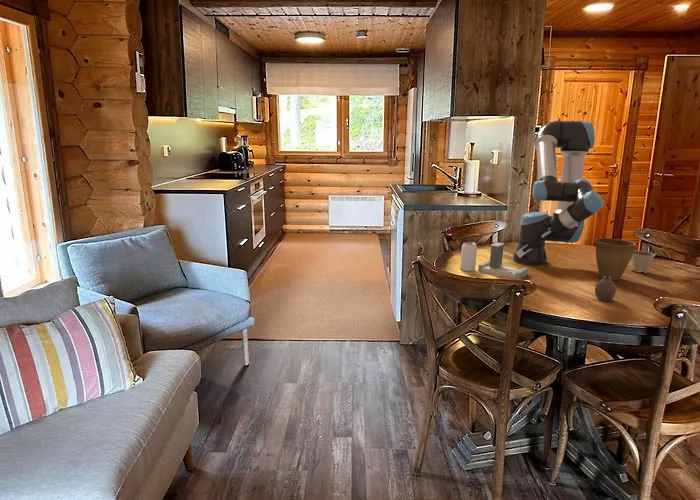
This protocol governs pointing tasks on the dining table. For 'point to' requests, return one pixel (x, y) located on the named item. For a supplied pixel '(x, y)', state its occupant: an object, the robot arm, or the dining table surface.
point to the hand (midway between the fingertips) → (518, 254)
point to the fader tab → (496, 255)
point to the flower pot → (641, 260)
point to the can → (468, 256)
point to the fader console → (503, 271)
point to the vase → (605, 289)
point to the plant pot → (613, 256)
